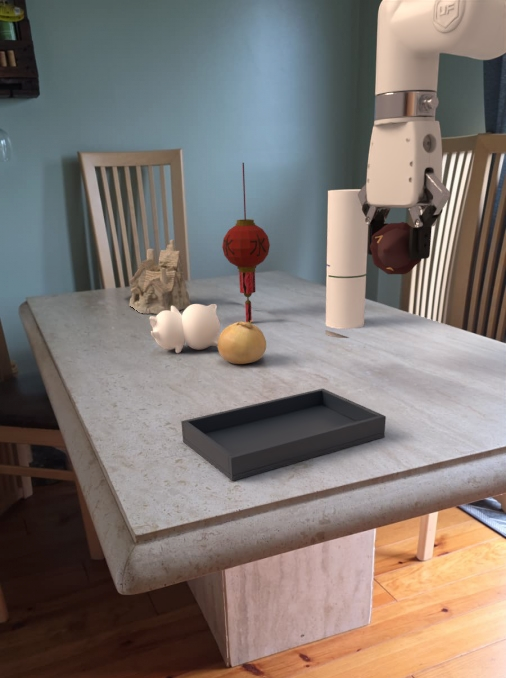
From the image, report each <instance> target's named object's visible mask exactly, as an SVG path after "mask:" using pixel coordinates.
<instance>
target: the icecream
mask: <svg viewBox="0 0 506 678" xmlns="http://www.w3.org/2000/svg"><path fill="white" fill-rule="evenodd" d="M414 227H415V226H411V225H410V224H409V223H408V222H405V221H402V222H390V223H388V224H387V225H385V226H384V227H383V228H382V229H381V230H379V231H378V232H376V233H375V234H374V235H373V236H372V243H371V245H370V249H371V252H372V255H371V258H372V262H373V265H374V266H375V267H376V268H378V269H380V270H381V271H383V272H384V273H385V274H387V275H406V274H408V273H410V272H411V271H412V270H413V269H414V268H415V267H416V266H417V265H418V264H420V262H421V261H422V259H418V260H410V259H409V257H408V256H409V239H410V228H414Z"/></svg>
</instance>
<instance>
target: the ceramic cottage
mask: <svg viewBox="0 0 506 678" xmlns="http://www.w3.org/2000/svg"><path fill="white" fill-rule="evenodd" d="M175 243H176V242H175V239H170V240H169V244H167V245H166V248H165V249H161V250H160V252H159V258H158V261H157V256H156V251H155V249H154V248H148V249H147V250H146V258H147V259H145V260H142V261H141V264H140V265H139V267H138V269H137V271H136V272H135V273H134V275H133V276H132V277H131V278H130V280H129V284H130V285H131V288H130V293H131V297H130V298H129V303H128V306H129V307H130V306H131V307H133V308H134V309H135V310H134V309H133V308H132V309H133V310H134V311H136V310H137V311H138V312H140V313H139V314H141V313H143V314H145V315H146V314H147V315H150V314H153V315H158V314H159V313H160V312H162V311H165V310H168V311H171V306H175V307H176V308H177V309H178V311H182V310H185V309H186V308H187V307H188V306H190V305H192V304H191V299H190V295H189V292H188V286H187V282H186V280H185V279H184V276H185V275H184V274H185V272H184V269H183V266H184V262H183V259H182V257H181V252H180V250H176V244H175ZM131 307H130V308H131ZM137 311H136V312H137ZM138 312H137V313H138Z"/></svg>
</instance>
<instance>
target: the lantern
mask: <svg viewBox="0 0 506 678" xmlns="http://www.w3.org/2000/svg"><path fill="white" fill-rule="evenodd" d="M245 180H246V179H245V163H244V162H242V186H243V190H242V191H243V217H244V218H243V219H236V223H235V224H234V226H233V227H231V228H229V229H228V230H227V232H226V234H225V235H224V237H223V240H222V246H221V248H222V251H223V256H224V257H225V258H226V260H227V261H228V262H229V263H230V264H231V265H234V266H235V267H237V270H238V277H239V293H240V294H243V295H244V297H245V298H246V300H245V301H244V309H245V311H244V312H245V322H249V323H250V321H251V320H253V319H252V302H251V300H250V298H251V296H252V295H253V294H254V293H256V292H257V291H256V269H257V266H259V265H260V264H262V263H263V262H264V261H265V260H266V258H267V257H268V255H269V252H270V247H271V244H270V239H269V236H268V234H267V233H266V232H265V230H264V229H263V228H262V227H260V226H259V225H257V224H256V222H255V219H253V218H251V219H250V218H248V219H247V214H246V213H247V211H246V210H247V209H246V185H245V183H246V182H245ZM251 324H253V321H252V322H251Z"/></svg>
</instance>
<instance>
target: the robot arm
mask: <svg viewBox="0 0 506 678" xmlns="http://www.w3.org/2000/svg"><path fill="white" fill-rule="evenodd" d="M376 31H377V32H376V58H375V59H376V60H375V90H374V91H375V92H374V96H375V97H374V117H373V119H374V120H373V126H372V132H371V137H370V142H369V148H368V149H369V150H368V158H367V167H366V182H365V183H364V185H363V186H362V187H361V190H360V191H359V192H358V198H359V200H360V203H361V206H362V211H363V213H364V215H365V217H366V218H365V222H366V224H367V225H368V242H367V255H370V256H372V252H371V249H370V245H371V243H372V236H373V235H374V234H375V233H376V232H378V231H379V230H381V229H382V228H383V227H384V226H385V225H387V224H389V223H385V222H386V221H387V218H388V216H389V214H390V213H391V212H390V211H391V209H392V208H394V209H396V208H397V209H398V208H399V209H406V208H408V209H407V210H408V211H409V212H408V213H409V214H410V217H411V220H412V223H413V227H414V228H410V239H409V256H408V257H409V259H410V260H418V259H421V260H425V259H429V258H430V256H431V244H432V243H431V242H432V229H433V228H432V227H435V226H436V224H437V220H438V218H439V217H440V216H441V214H442V213H443V210H444V208H445V206H446V205H447V203H448V201H449V200H450V197H451V192H450V190H449V189H448V188H447V187H446V186H445V184H444V183H443V143H442V142H443V141H442V131H441V126H440V121H439V120H436V110H437V108H438V107H439V104H440V100H439V97H438V96H437V93H438V82H439V81H438V79H439V67H440V65H439V64H440V54H448V55H454V56H458V57H465V58H466V57H467V58H469V59H470V58H471V59H474V60H480V61H489V60H494V59H496V58H499V57H501V56H503V55H504V54H506V0H382V1H381V2H380V4H379V8H378V11H377V30H376ZM421 211H422V213H421Z"/></svg>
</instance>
